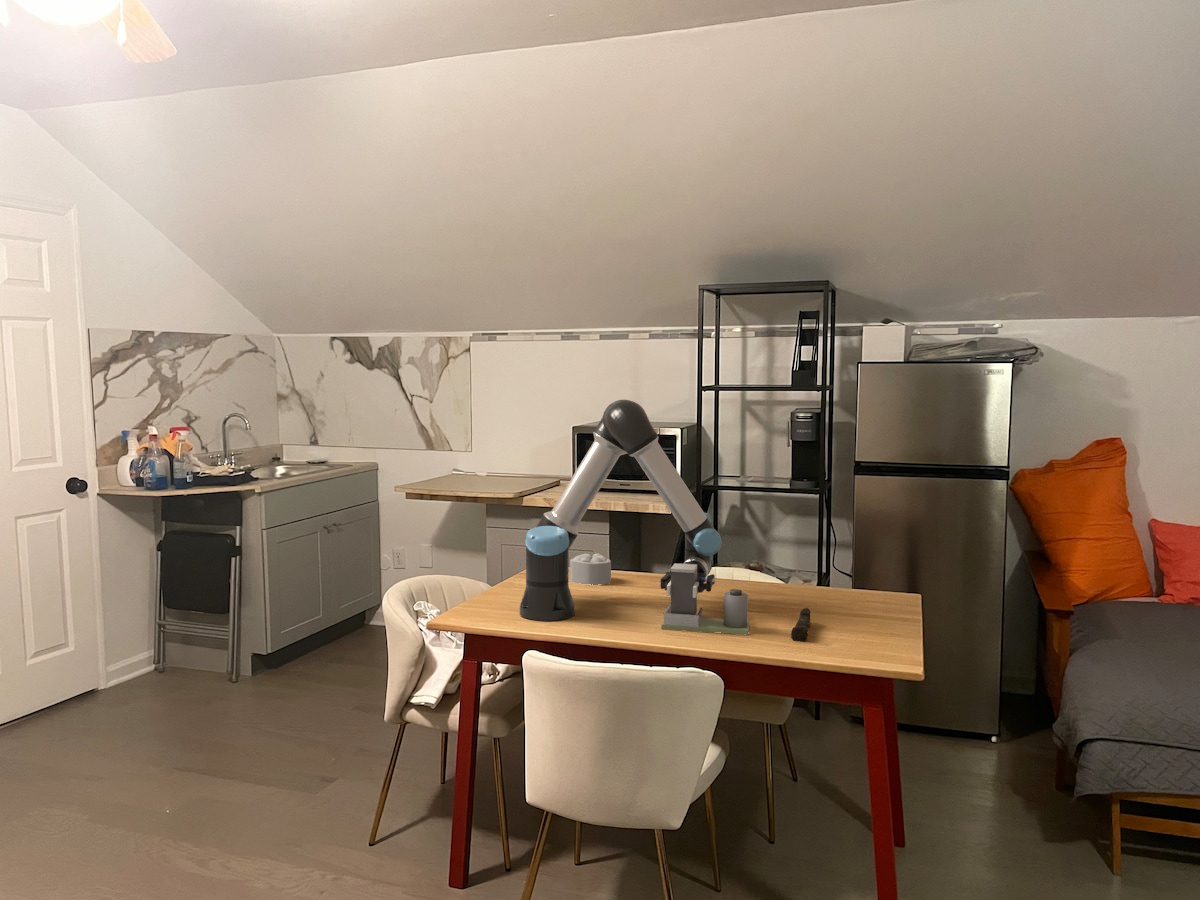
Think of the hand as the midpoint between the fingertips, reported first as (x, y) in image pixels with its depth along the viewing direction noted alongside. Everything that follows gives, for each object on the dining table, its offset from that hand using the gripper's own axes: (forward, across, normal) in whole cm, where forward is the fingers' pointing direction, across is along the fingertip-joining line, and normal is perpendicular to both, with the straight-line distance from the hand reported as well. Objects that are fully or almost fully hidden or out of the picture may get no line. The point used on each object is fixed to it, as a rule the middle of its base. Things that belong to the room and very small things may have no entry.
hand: (681, 591), depth 221 cm
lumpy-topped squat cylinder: (-49, +36, -10) cm, 62 cm away
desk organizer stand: (-5, -6, -10) cm, 13 cm away
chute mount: (-5, 0, -9) cm, 10 cm away
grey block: (-5, 0, -7) cm, 9 cm away
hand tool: (-8, -30, -11) cm, 33 cm away
